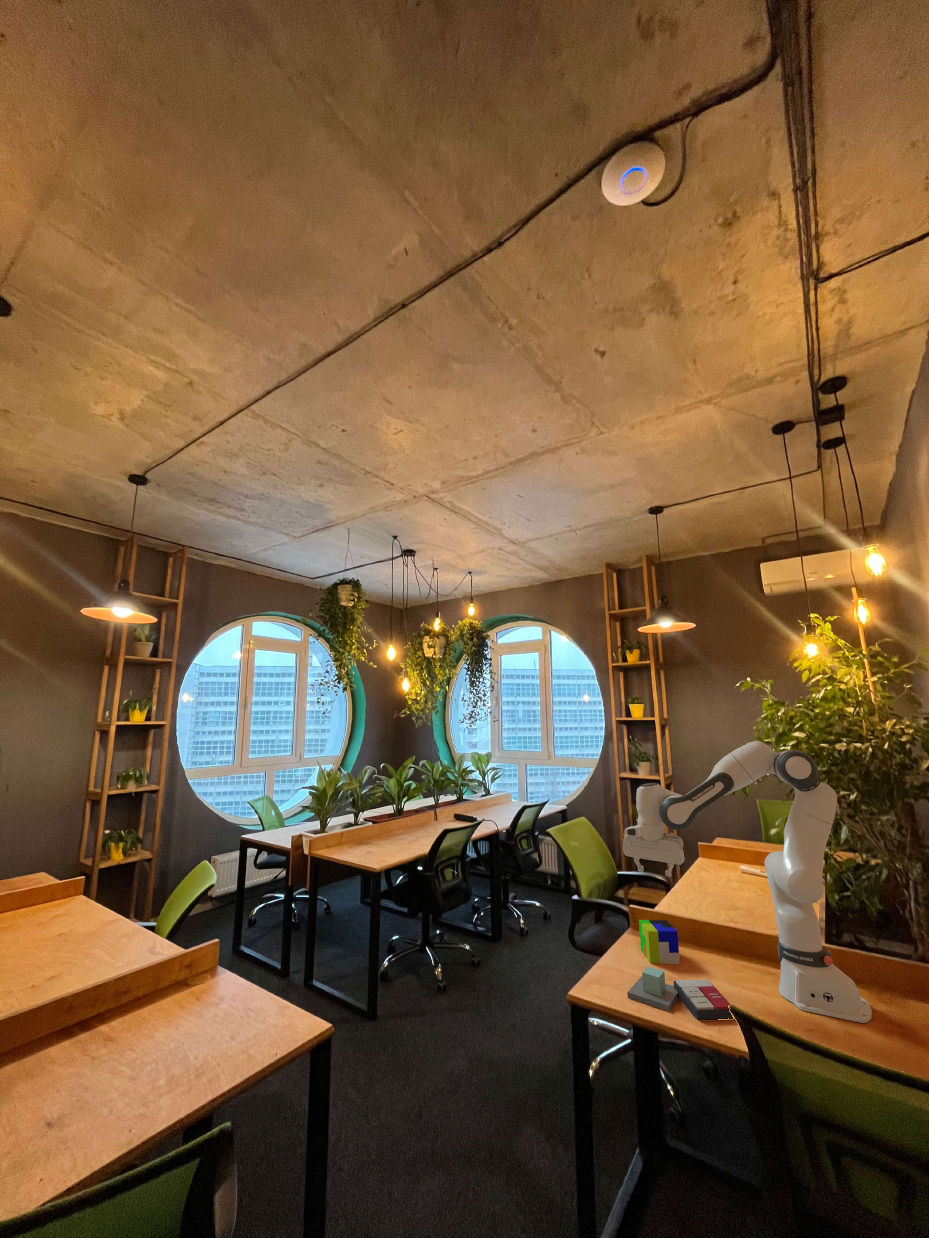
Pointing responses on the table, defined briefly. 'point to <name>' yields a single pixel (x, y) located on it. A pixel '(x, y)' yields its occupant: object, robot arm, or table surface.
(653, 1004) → the slate coaster
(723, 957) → the table surface
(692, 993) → the calculator
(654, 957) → the puzzle toy
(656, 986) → the teal cube
